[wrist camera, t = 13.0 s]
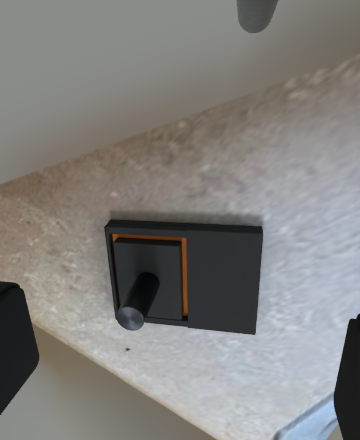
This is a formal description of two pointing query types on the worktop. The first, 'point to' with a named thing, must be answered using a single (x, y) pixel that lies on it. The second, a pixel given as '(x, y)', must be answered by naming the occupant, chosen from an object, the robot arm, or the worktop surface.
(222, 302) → the base pad
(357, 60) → the worktop surface
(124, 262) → the black pad
